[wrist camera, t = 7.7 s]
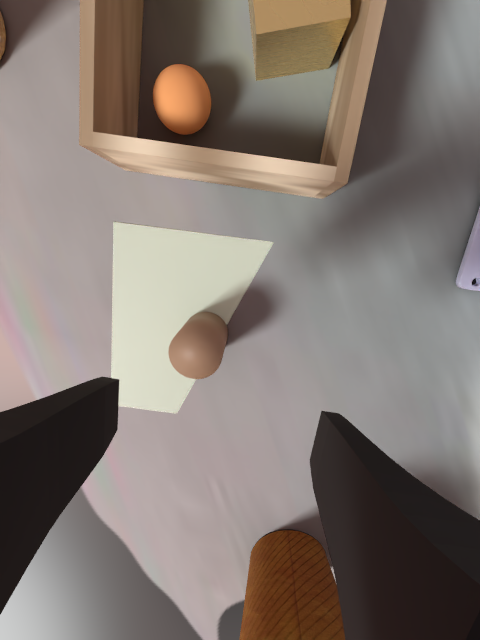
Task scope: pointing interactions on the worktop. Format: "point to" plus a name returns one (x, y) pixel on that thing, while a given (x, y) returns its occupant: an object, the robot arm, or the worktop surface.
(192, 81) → the orange ball
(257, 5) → the brass cube
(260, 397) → the worktop surface
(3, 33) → the sprinkles bottle
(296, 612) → the disposable coffee cup
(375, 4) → the box
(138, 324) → the lid
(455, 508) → the robot arm
